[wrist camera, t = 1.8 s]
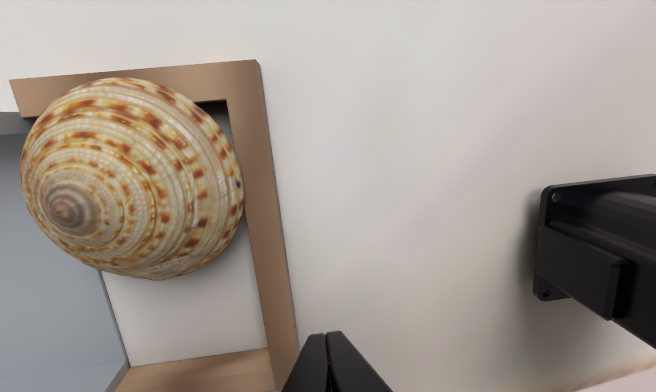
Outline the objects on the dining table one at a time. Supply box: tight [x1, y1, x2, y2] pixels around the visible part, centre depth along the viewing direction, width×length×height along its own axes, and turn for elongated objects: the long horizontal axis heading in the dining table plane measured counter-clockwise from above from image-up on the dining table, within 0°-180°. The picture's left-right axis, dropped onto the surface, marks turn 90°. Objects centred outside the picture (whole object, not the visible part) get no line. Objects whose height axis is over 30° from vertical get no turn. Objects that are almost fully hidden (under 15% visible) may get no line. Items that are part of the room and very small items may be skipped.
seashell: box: [20, 77, 244, 280], centre depth 13 cm, size 8×6×8 cm
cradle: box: [9, 59, 300, 392], centre depth 15 cm, size 9×16×2 cm, turn 5°
